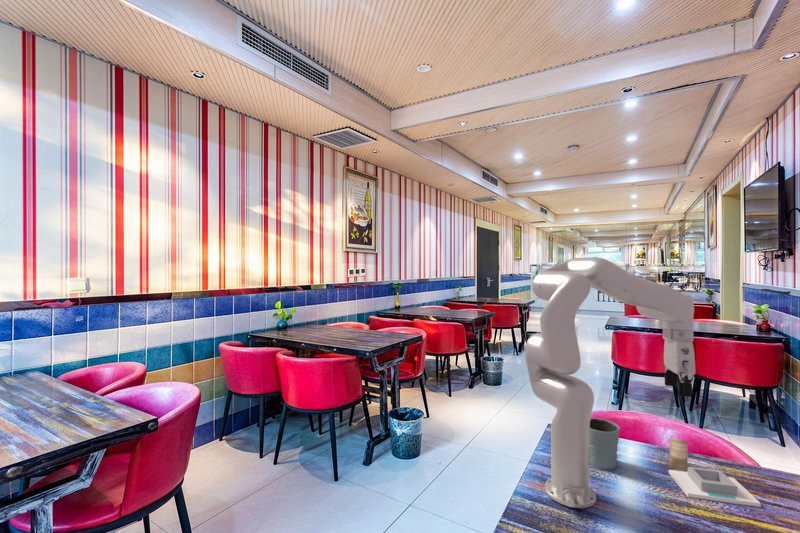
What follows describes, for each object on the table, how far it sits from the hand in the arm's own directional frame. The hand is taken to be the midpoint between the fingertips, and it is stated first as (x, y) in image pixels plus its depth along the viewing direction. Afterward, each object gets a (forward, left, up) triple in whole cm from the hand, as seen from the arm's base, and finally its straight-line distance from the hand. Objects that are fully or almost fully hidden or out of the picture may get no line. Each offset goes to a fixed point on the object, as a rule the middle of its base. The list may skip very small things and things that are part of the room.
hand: (677, 390), depth 115 cm
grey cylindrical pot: (-3, +22, -24) cm, 32 cm away
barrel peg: (0, 0, -24) cm, 24 cm away
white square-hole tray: (-10, -4, -23) cm, 26 cm away
